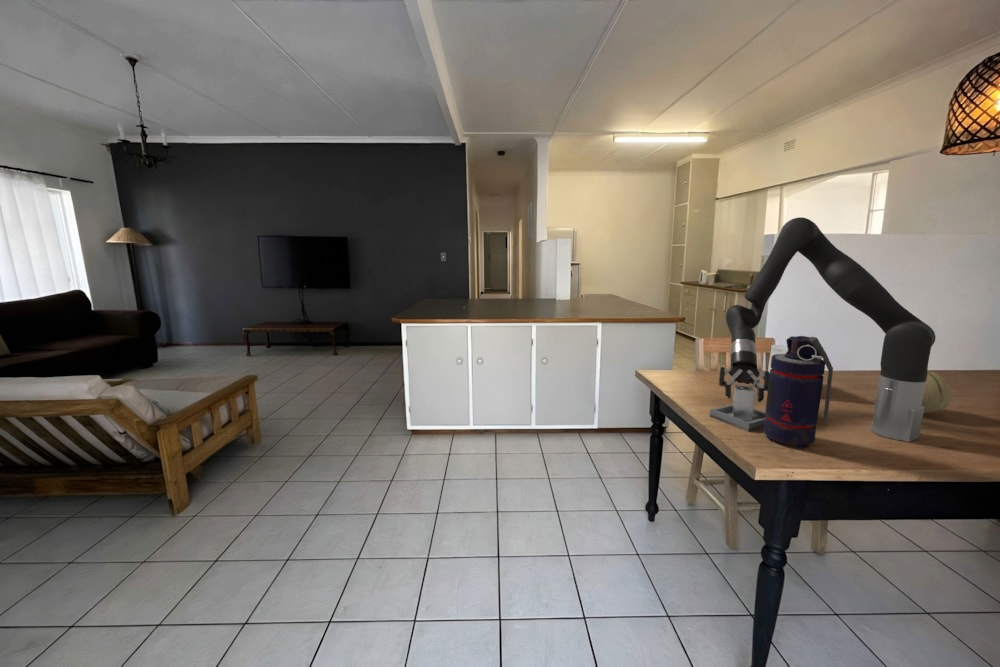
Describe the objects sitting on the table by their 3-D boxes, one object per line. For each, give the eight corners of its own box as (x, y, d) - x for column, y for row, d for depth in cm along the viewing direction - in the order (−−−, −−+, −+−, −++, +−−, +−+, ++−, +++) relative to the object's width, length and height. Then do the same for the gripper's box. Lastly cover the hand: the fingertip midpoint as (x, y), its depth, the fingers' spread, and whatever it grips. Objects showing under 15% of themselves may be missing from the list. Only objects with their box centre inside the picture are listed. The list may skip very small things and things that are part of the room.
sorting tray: (775, 423, 123) (776, 416, 122) (748, 431, 117) (749, 423, 117) (735, 409, 134) (736, 403, 134) (709, 416, 129) (710, 409, 129)
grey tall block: (749, 415, 127) (752, 386, 125) (751, 421, 123) (755, 390, 121) (731, 413, 129) (734, 384, 127) (733, 419, 125) (736, 388, 123)
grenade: (758, 439, 112) (769, 337, 106) (767, 427, 120) (779, 331, 115) (819, 456, 102) (835, 344, 97) (825, 441, 110) (840, 337, 105)
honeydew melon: (942, 425, 120) (951, 378, 117) (878, 410, 132) (885, 367, 129) (952, 414, 128) (961, 370, 125) (890, 401, 140) (897, 361, 137)
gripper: (720, 347, 132) (719, 390, 123) (771, 351, 125) (774, 396, 117) (718, 359, 137) (717, 401, 129) (766, 363, 131) (768, 407, 123)
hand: (744, 399), depth 123 cm, fingers open, 8 cm apart
